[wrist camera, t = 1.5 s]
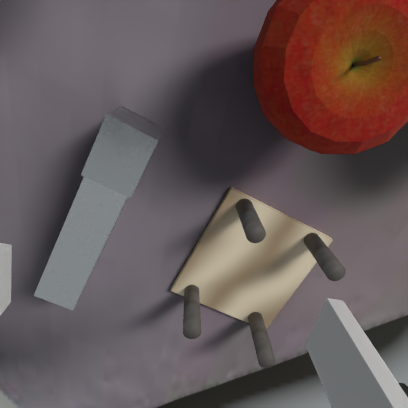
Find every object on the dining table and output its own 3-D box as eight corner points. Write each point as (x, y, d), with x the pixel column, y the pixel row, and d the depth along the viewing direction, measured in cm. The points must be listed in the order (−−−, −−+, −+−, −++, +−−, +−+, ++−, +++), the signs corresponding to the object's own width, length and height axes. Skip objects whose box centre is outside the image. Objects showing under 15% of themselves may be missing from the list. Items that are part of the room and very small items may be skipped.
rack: (171, 287, 35) (167, 332, 29) (230, 186, 31) (240, 213, 25) (264, 326, 38) (278, 375, 32) (330, 237, 34) (361, 272, 28)
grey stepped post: (94, 273, 34) (75, 311, 29) (57, 258, 34) (30, 294, 28) (164, 128, 29) (158, 140, 24) (122, 106, 28) (106, 113, 23)
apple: (240, -9, 26) (279, -76, 14) (375, -9, 26) (517, -74, 15) (236, 134, 30) (264, 169, 18) (353, 132, 30) (450, 166, 19)
